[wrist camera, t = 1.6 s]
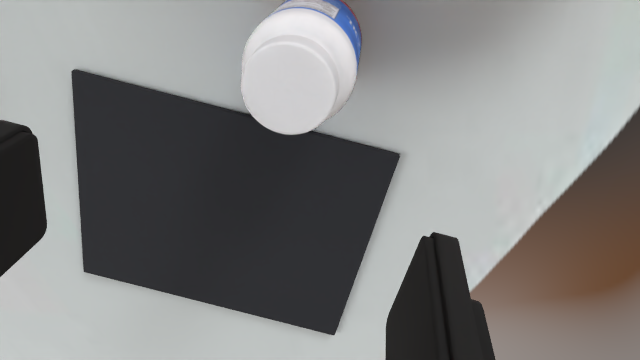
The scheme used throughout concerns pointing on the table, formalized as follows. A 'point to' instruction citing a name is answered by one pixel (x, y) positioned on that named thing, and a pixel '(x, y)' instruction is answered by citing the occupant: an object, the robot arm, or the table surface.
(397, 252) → the table surface
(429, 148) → the table surface
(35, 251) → the table surface
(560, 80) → the table surface
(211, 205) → the desk mat
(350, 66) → the pill bottle
